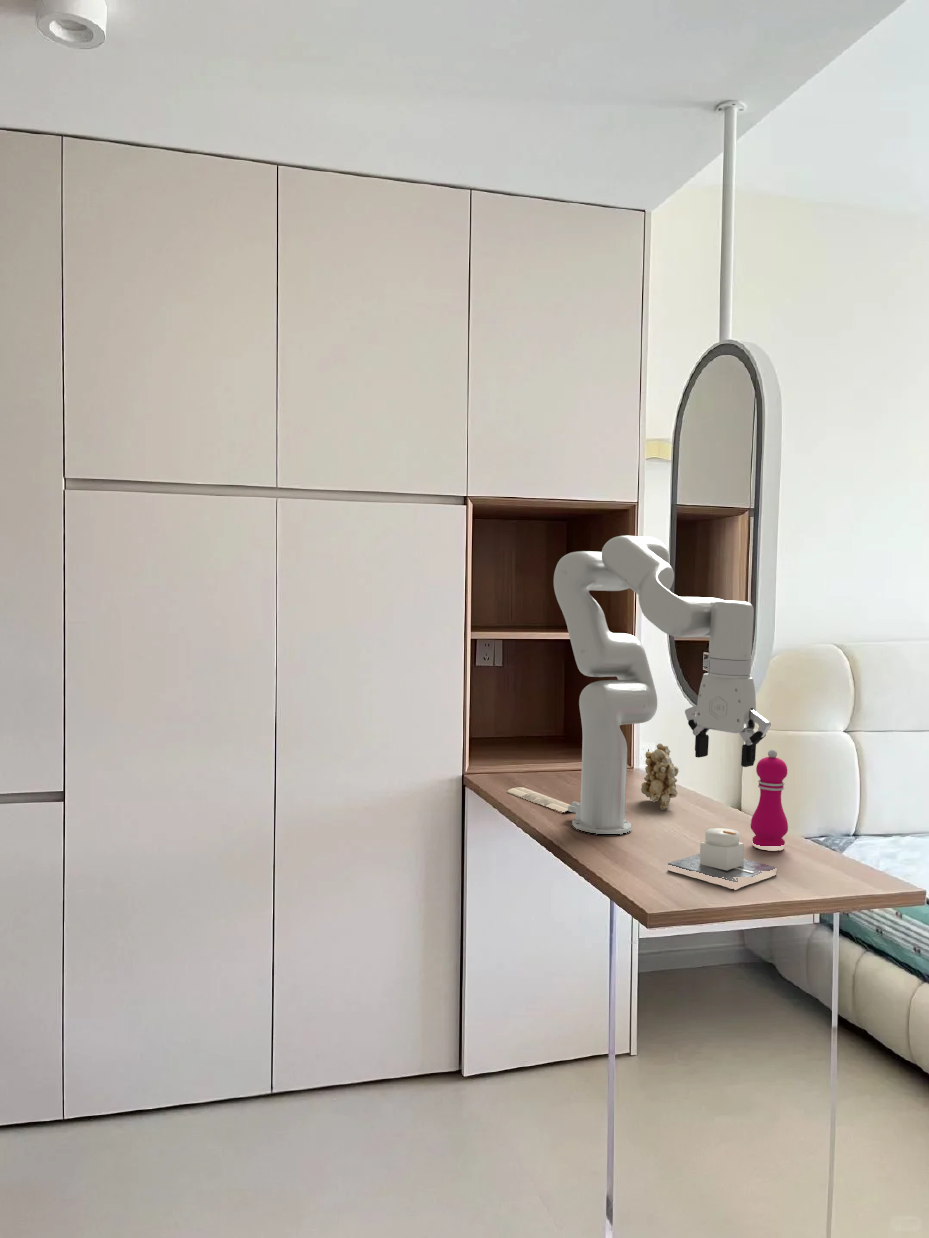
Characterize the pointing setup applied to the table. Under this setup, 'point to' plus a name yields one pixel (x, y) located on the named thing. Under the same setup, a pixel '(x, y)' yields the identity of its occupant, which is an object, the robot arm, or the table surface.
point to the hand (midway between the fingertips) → (724, 761)
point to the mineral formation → (660, 776)
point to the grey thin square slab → (742, 871)
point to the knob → (722, 849)
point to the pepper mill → (770, 802)
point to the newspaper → (539, 798)
